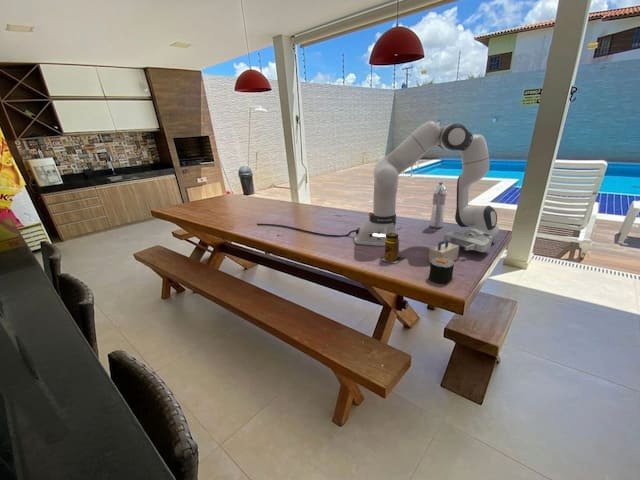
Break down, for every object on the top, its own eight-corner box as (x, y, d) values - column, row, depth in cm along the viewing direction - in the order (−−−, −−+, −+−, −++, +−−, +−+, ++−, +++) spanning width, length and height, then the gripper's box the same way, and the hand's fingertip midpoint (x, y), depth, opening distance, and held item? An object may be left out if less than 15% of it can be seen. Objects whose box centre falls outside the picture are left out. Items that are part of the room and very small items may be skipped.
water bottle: (443, 228, 173) (448, 183, 162) (430, 228, 174) (434, 183, 163) (441, 224, 179) (446, 181, 168) (429, 224, 180) (433, 181, 169)
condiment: (380, 260, 139) (381, 235, 134) (390, 253, 145) (391, 229, 140) (395, 263, 135) (396, 238, 130) (404, 257, 140) (405, 232, 135)
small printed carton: (440, 266, 130) (443, 245, 126) (428, 262, 135) (430, 241, 131) (458, 259, 136) (461, 238, 132) (445, 254, 141) (448, 235, 137)
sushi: (446, 285, 116) (449, 266, 112) (425, 279, 121) (427, 261, 117) (455, 277, 121) (457, 259, 117) (434, 271, 126) (436, 254, 123)
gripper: (454, 226, 150) (436, 233, 144) (495, 237, 135) (477, 245, 128) (453, 238, 153) (435, 245, 146) (493, 250, 138) (475, 258, 131)
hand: (455, 245), depth 137 cm, fingers open, 8 cm apart
